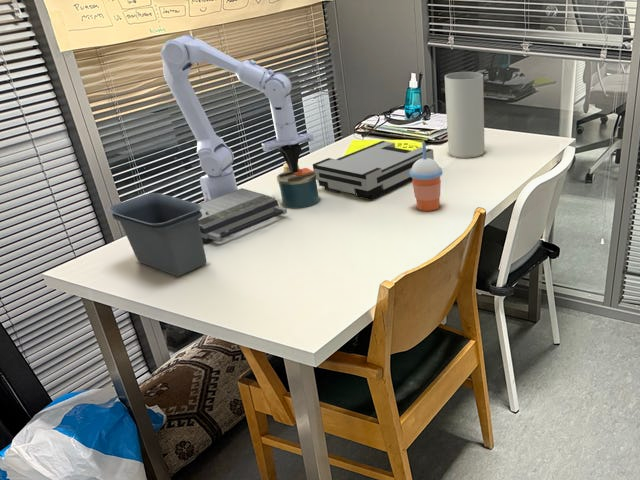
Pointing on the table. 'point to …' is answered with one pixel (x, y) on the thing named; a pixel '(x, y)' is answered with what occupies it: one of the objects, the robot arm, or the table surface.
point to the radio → (235, 213)
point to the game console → (369, 170)
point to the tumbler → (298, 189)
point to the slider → (303, 171)
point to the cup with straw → (426, 182)
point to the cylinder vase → (465, 114)
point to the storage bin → (163, 231)
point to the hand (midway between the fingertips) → (293, 171)
